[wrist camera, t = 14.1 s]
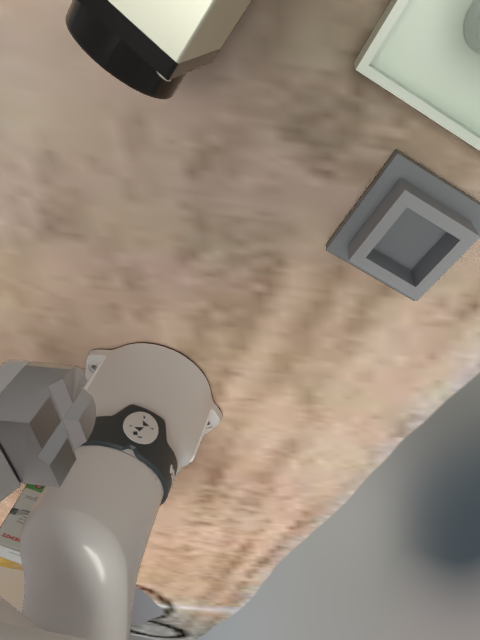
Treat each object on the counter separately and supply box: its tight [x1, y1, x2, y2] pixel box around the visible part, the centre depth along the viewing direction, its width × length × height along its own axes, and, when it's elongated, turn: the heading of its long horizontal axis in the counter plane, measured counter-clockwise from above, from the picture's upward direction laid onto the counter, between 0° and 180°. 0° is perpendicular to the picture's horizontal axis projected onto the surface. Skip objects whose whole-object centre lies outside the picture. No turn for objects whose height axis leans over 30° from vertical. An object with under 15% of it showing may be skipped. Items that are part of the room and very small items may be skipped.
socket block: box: [326, 150, 480, 301], centre depth 38 cm, size 10×10×4 cm
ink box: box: [0, 484, 45, 564], centre depth 72 cm, size 9×5×12 cm, turn 68°
